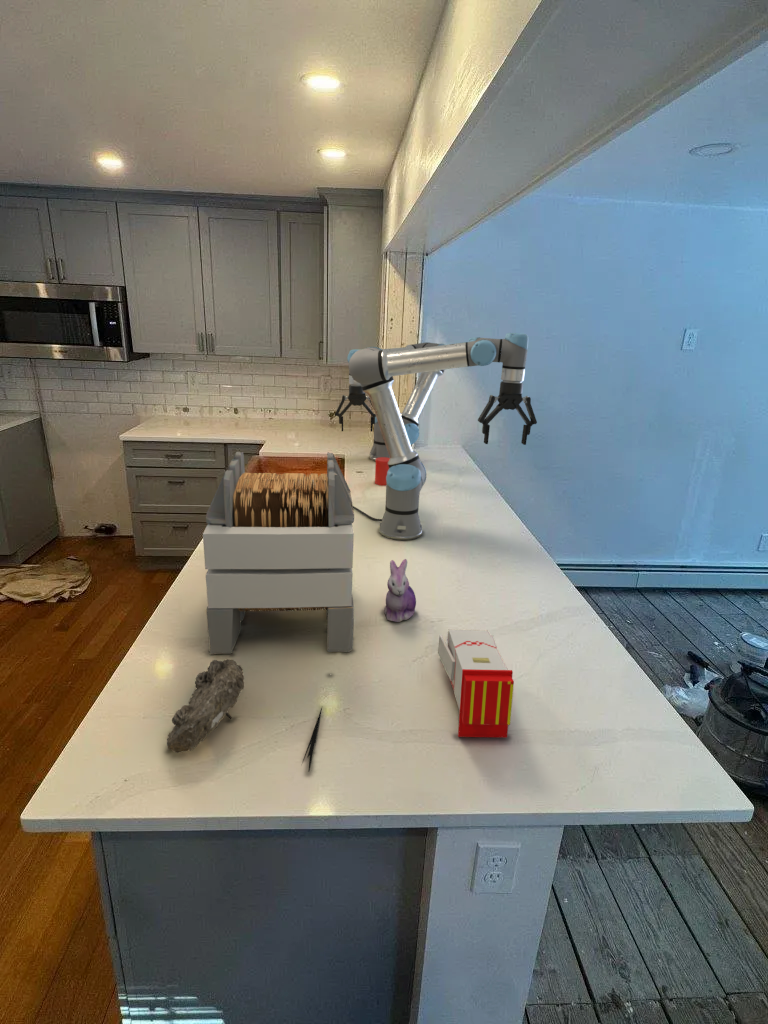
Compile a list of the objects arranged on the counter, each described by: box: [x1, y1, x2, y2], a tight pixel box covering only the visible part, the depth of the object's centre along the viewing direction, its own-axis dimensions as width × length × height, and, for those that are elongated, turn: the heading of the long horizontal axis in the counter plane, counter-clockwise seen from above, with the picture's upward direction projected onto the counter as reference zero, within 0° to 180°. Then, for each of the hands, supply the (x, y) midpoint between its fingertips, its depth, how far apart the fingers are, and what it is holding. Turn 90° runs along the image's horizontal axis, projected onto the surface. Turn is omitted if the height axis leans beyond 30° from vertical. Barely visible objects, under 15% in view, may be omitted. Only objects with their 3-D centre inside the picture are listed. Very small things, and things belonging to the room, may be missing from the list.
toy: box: [437, 628, 515, 738], centre depth 117 cm, size 12×13×30 cm
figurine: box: [384, 558, 417, 623], centre depth 145 cm, size 9×10×15 cm
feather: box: [301, 673, 332, 771], centre depth 108 cm, size 2×28×2 cm
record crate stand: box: [202, 451, 355, 655], centre depth 137 cm, size 34×33×41 cm
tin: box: [374, 457, 390, 487], centre depth 255 cm, size 8×8×11 cm
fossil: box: [166, 658, 245, 754], centre depth 106 cm, size 22×10×15 cm
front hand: (504, 443), depth 197 cm, fingers open, 13 cm apart
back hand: (356, 430), depth 265 cm, fingers open, 13 cm apart
